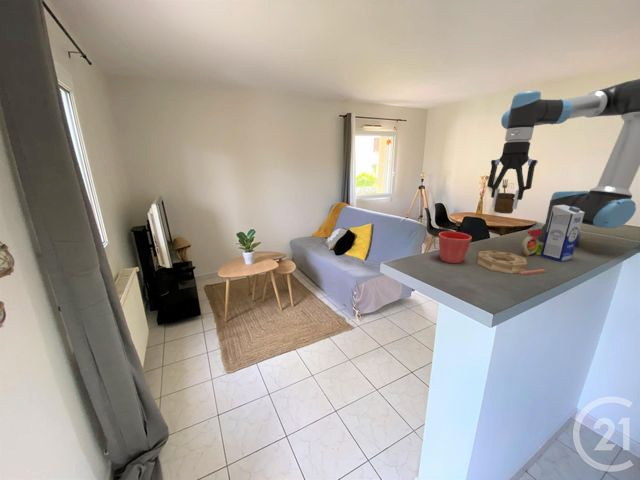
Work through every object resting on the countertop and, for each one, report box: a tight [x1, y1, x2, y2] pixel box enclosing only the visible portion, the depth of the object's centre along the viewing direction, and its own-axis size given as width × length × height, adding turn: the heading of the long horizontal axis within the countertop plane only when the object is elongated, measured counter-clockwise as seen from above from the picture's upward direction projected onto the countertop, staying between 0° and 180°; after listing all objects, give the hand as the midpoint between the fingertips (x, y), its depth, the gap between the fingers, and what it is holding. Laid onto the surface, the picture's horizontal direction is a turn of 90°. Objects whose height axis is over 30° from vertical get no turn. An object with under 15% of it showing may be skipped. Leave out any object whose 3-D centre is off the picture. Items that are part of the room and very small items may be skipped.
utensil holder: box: [493, 178, 515, 215], centre depth 98 cm, size 6×6×12 cm
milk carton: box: [540, 205, 585, 263], centre depth 99 cm, size 7×7×20 cm
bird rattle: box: [521, 228, 544, 257], centre depth 104 cm, size 6×11×9 cm
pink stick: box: [518, 268, 547, 276], centre depth 88 cm, size 10×1×1 cm, turn 103°
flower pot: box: [438, 230, 473, 264], centre depth 99 cm, size 11×11×10 cm
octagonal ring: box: [477, 249, 528, 274], centre depth 94 cm, size 14×14×3 cm
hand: (504, 207), depth 99 cm, fingers closed on utensil holder, 6 cm apart
